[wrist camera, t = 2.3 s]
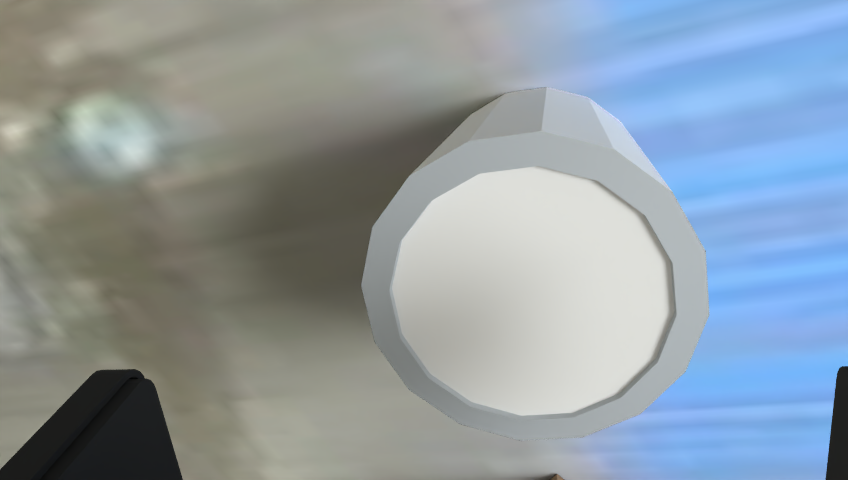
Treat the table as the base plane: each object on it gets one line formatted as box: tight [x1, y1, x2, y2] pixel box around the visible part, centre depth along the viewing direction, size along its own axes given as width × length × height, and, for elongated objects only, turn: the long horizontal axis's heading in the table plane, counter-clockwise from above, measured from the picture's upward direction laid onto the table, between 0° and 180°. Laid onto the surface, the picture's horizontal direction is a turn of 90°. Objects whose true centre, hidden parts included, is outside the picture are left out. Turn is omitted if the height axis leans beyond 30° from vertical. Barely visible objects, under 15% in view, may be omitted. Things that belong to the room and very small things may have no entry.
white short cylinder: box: [361, 87, 709, 441], centre depth 18 cm, size 7×7×7 cm
